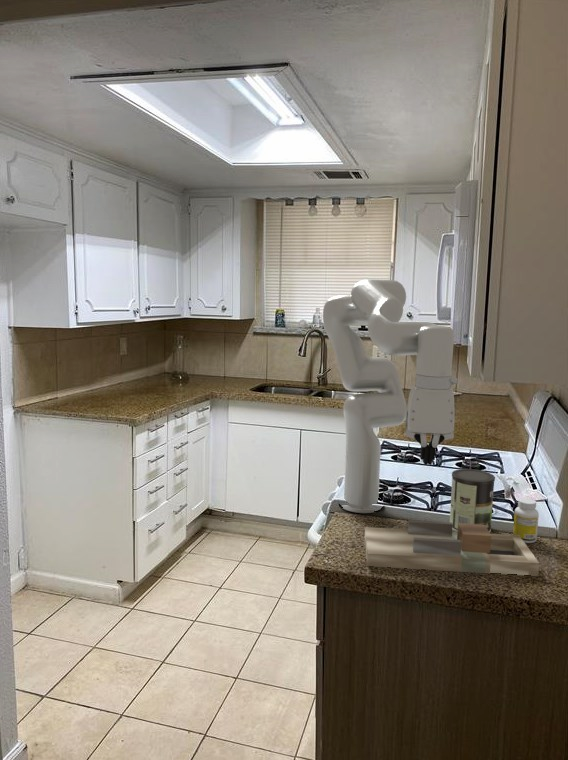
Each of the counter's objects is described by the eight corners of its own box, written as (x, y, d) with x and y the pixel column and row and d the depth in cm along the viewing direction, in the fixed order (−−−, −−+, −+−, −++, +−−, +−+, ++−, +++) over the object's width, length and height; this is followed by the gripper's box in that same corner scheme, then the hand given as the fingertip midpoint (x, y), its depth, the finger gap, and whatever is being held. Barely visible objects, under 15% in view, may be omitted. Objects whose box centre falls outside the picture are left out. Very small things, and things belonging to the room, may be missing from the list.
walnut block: (457, 539, 133) (458, 523, 132) (483, 541, 132) (485, 524, 132) (461, 551, 127) (463, 534, 126) (490, 553, 126) (491, 535, 126)
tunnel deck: (364, 538, 140) (365, 515, 139) (518, 547, 136) (520, 523, 135) (367, 566, 126) (368, 540, 125) (538, 576, 123) (540, 549, 122)
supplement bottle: (518, 532, 145) (521, 495, 143) (540, 539, 141) (543, 500, 139) (508, 538, 141) (511, 500, 140) (530, 545, 137) (534, 506, 136)
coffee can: (487, 522, 151) (491, 470, 149) (493, 538, 141) (498, 483, 139) (447, 518, 153) (450, 467, 151) (450, 534, 143) (453, 479, 141)
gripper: (463, 380, 129) (457, 459, 133) (396, 378, 131) (391, 456, 134) (471, 387, 122) (464, 470, 125) (400, 384, 123) (395, 466, 126)
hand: (427, 462), depth 130 cm, fingers closed
